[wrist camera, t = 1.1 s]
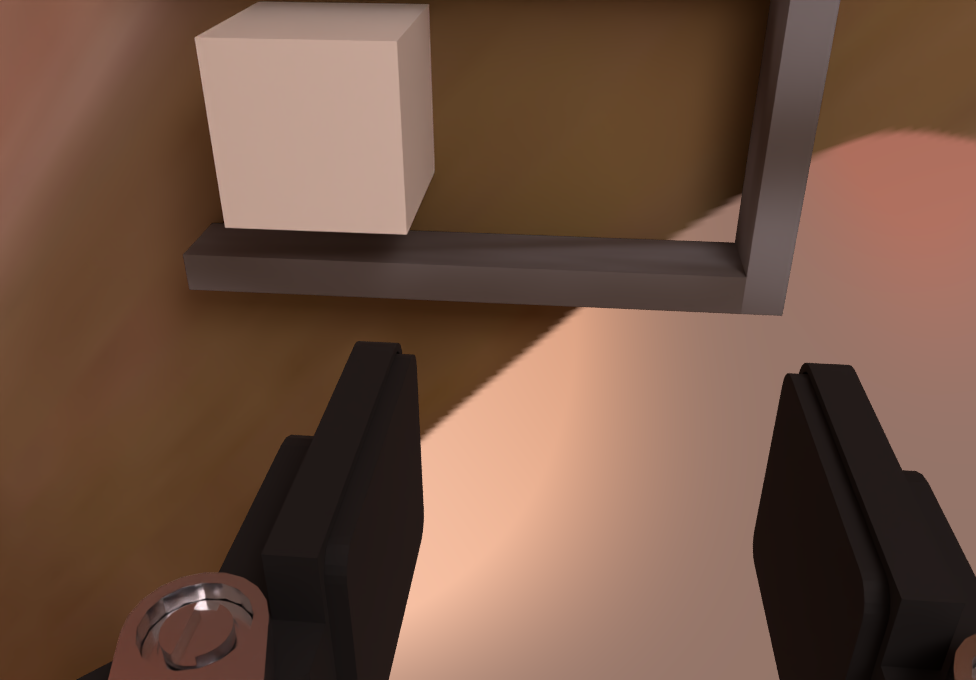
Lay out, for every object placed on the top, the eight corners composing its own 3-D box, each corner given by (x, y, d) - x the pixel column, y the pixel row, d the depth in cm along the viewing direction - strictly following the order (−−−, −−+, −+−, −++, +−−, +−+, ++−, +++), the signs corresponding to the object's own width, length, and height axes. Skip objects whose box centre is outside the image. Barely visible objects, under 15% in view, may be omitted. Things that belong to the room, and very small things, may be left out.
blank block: (259, 0, 26) (194, 37, 22) (429, 3, 26) (397, 41, 22) (279, 166, 29) (225, 227, 25) (434, 170, 28) (407, 234, 24)
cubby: (154, -123, 25) (112, -117, 23) (835, -120, 23) (861, -113, 21) (217, 256, 31) (189, 289, 28) (768, 278, 29) (782, 315, 27)
